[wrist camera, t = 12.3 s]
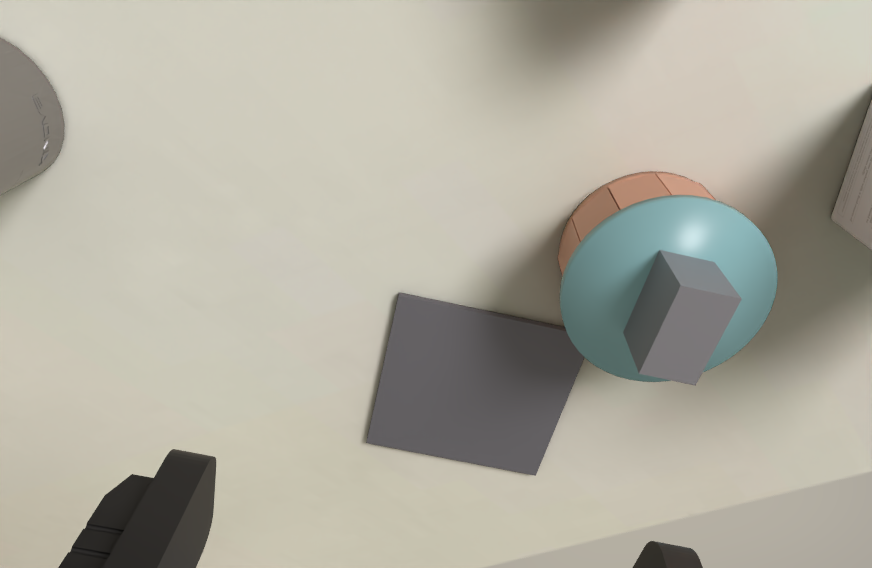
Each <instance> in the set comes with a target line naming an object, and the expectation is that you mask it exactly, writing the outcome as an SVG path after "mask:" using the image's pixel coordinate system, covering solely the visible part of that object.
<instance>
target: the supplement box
mask: <svg viewBox="0 0 872 568" xmlns="http://www.w3.org/2000/svg"><path fill="white" fill-rule="evenodd" d="M831 219H832V220H833V221H834V222H835V223H837V224H838V225H839V226H841V227H842V228H843V229H844V230H846V231H847V232H848V233H850V234H851V235H852V236H854V237H855V238H856V239H858V240H859V241H860V242H861V243H863V244H864V245H865V246H867V247H868V248H869V249H871V250H872V100H871V103H870V106H869V108H868V111H867V114H866V117H865V120H864V123H863V126H862V129H861V132H860V134H859V137H858V140H857V143H856V146H855V149H854V152H853V155H852V158H851V161H850V163H849V166H848V169H847V172H846V175H845V178H844V181H843V184H842V187H841V190H840V193H839V195H838V198H837V201H836V204H835V207H834V210H833V213H832V217H831Z"/></svg>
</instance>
